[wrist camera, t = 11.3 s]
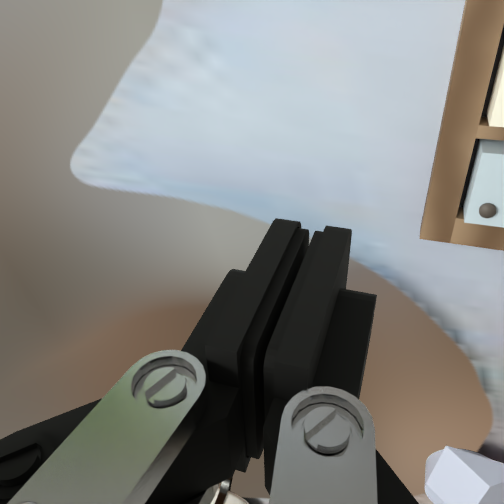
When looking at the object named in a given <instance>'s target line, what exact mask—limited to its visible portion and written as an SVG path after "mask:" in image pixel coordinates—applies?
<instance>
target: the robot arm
mask: <svg viewBox="0 0 504 504" xmlns="http://www.w3.org/2000/svg"><path fill="white" fill-rule="evenodd" d="M351 235H352V230H351V229H346V228H339V227H332V226H326V227H325V229H324V231H323V232H321V231H315V232H314V235H313V237H312V240H311V242H310V244H309V230H307V229H301V223H300V222H298V221H291V220H284V219H277V218H276V219H275V220H274V221H273V223H272V225H271V226H270V228H269V230H268V232H267V234H266V235H265V237H264V239H263V241H262V243H261V244H260V246H259V248H258V250H257V252H256V253H255V255H254V257H253V259H252V261H251V263H250V264H249V266H248V268H247V270H246V271H241V270H235V269H232V270H230V271H229V272H228V274H227V275H226V277H225V279H224V280H223V282H222V284H221V285H220V287H219V288H218V290H217V292H216V293H215V295H214V297H213V299H212V300H211V302H210V303H209V305H208V307H207V308H206V310H205V312H204V313H203V315H202V317H201V319H200V320H199V322H198V323H197V325H196V327H195V329H194V330H193V332H192V333H191V335H190V337H189V338H188V340H187V342H186V344H185V345H184V347H183V348H182V350H181V351H178V350H163V351H159V352H155V353H151V354H149V355H147V356H145V357H143V358H141V359H140V360H139V361H138V362H136V363H135V364H134V365H133V366H132V367H131V368H130V369H129V370H128V371H127V372H126V373H125V374H124V375H123V377H122V378H121V379H120V380H119V381H118V382H117V383H116V384H115V385H114V386H113V387H112V389H111V390H110V391H109V392H108V393H107V394H106V395H105V396H104V397H103V398H102V399H99V400H97V401H94V402H92V403H89V404H87V405H84V406H81V407H79V408H76V409H74V410H71V411H69V412H66V413H63V414H61V415H58V416H55V417H53V418H50V419H48V420H45V421H43V422H40V423H37V424H35V425H33V426H30V427H27V428H25V429H22V430H20V431H17V432H15V433H13V434H11V435H9V436H7V437H5V438H3V439H0V504H211V502H212V500H213V498H214V497H215V494H216V492H217V489H218V486H219V483H221V482H223V481H225V480H227V479H229V478H231V477H233V474H234V471H235V470H238V471H242V472H246V469H247V467H248V464H249V461H250V458H251V457H252V458H256V459H259V458H260V456H261V454H262V451H263V449H264V465H265V466H264V467H265V487H266V489H267V491H268V493H269V495H270V500H269V504H419V503H418V502H417V501H416V499H415V498H414V497H413V496H412V495H411V493H410V492H409V491H408V489H407V488H406V487H405V485H404V484H403V483H402V482H401V480H400V479H399V478H398V477H397V475H396V474H395V473H394V471H393V470H392V469H391V468H390V466H389V465H388V464H387V463H386V461H385V460H384V459H383V457H382V456H381V455H380V454H379V452H378V451H377V450H376V449H375V429H374V424H373V419H372V416H371V415H370V413H369V411H368V410H367V408H366V406H365V405H364V404H363V403H362V402H361V401H360V400H359V397H360V391H361V386H362V380H363V375H364V369H365V364H366V358H367V353H368V347H369V341H370V335H371V329H372V323H373V317H374V310H375V304H376V297H377V295H374V294H368V293H363V292H358V291H352V290H346V281H347V273H348V264H349V254H350V245H351Z"/></svg>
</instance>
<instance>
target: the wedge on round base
mask: <svg viewBox="0 0 504 504" xmlns="http://www.w3.org/2000/svg"><path fill="white" fill-rule="evenodd" d="M425 473H426V474H425V492H426V495H427V496H428V498H429V499H430V500H431V501H432V502H433V503H434V504H504V463H501V462H498V461H495V460H491V459H490V458H488V457H486V456H484V455H482V454H480V453H477V452H474V451H471V450H466V449H456V448H452V447H449V446H446V447H445V448H444V449H443V450H439V451H437V452H434V453H433V454H431V455H430V456H429V457H428V459H427V461H426V471H425Z"/></svg>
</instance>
